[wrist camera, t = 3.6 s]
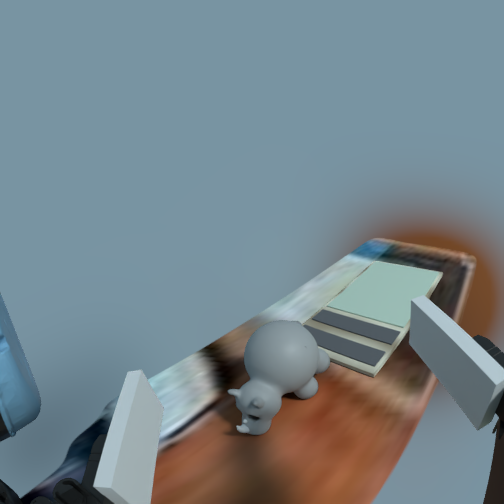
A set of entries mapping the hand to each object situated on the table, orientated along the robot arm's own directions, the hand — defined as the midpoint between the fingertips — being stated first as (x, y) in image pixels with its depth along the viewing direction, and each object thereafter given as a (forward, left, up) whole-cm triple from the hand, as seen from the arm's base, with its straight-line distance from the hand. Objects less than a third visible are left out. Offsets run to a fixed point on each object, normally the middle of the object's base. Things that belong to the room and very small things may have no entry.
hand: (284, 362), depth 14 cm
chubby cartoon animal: (-1, +12, -16) cm, 20 cm away
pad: (+18, +26, -15) cm, 35 cm away
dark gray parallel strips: (+9, +19, -15) cm, 25 cm away
